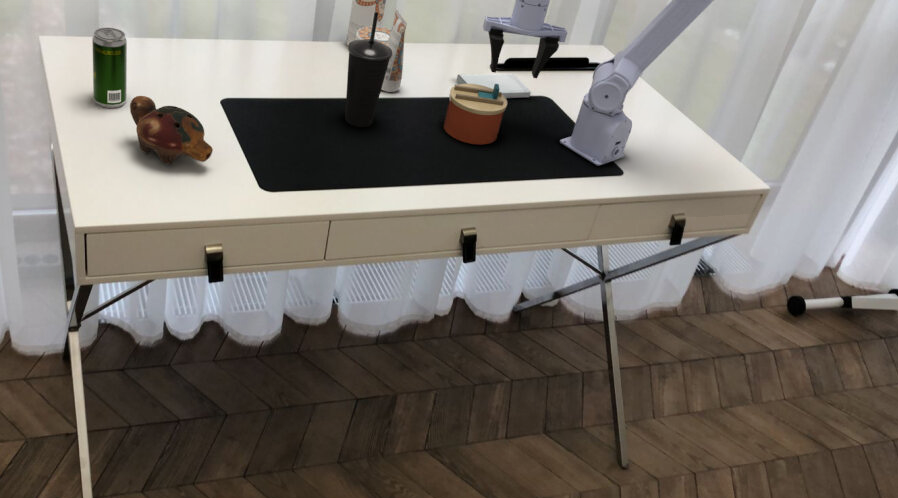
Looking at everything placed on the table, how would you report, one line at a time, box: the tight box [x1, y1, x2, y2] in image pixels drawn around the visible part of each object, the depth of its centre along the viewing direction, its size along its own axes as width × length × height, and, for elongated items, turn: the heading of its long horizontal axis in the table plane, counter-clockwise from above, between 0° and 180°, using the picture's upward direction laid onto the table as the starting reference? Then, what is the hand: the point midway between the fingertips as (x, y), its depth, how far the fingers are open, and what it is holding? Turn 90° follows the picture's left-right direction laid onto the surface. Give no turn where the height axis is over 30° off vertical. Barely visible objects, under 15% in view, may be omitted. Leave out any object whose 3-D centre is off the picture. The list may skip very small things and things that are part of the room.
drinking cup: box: [344, 12, 393, 128], centre depth 167 cm, size 8×8×20 cm
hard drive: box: [456, 73, 532, 99], centre depth 192 cm, size 2×8×12 cm
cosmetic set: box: [346, 0, 408, 93], centre depth 187 cm, size 25×9×19 cm, turn 18°
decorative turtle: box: [129, 95, 214, 165], centre depth 152 cm, size 10×15×8 cm, turn 68°
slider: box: [478, 84, 500, 100], centre depth 173 cm, size 3×2×2 cm
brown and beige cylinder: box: [443, 83, 508, 146], centre depth 175 cm, size 10×10×8 cm
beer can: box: [91, 27, 128, 109], centre depth 161 cm, size 5×5×12 cm
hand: (513, 72), depth 175 cm, fingers open, 7 cm apart
